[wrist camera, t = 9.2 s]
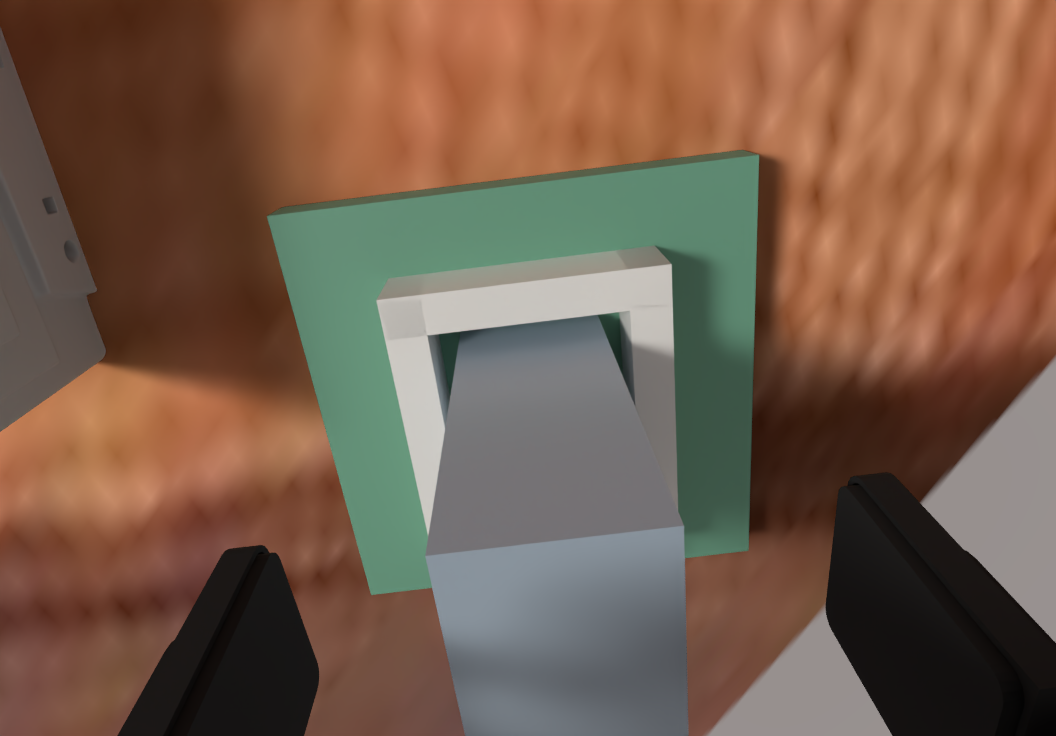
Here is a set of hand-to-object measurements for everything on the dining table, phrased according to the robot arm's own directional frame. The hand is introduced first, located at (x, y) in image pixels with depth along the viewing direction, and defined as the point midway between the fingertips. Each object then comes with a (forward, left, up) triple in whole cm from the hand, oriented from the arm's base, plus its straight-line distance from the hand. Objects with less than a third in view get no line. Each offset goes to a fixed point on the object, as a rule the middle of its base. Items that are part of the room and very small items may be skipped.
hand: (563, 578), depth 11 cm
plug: (+1, 0, -8) cm, 8 cm away
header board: (+1, 0, -9) cm, 9 cm away
